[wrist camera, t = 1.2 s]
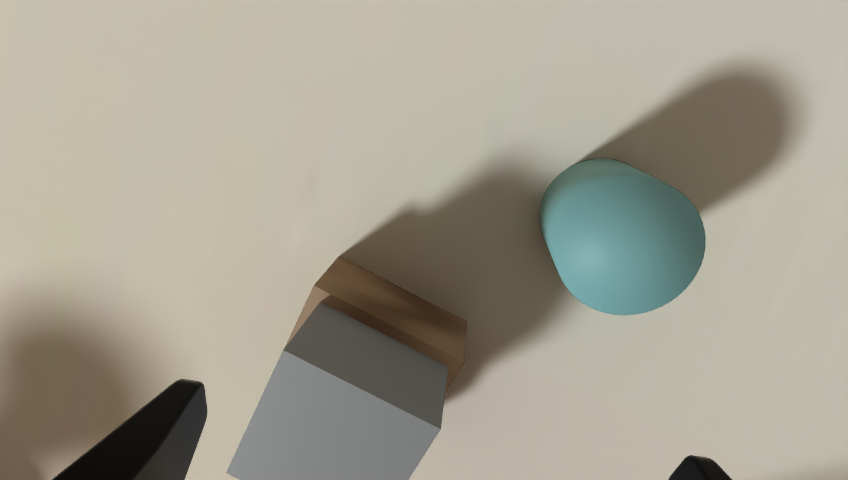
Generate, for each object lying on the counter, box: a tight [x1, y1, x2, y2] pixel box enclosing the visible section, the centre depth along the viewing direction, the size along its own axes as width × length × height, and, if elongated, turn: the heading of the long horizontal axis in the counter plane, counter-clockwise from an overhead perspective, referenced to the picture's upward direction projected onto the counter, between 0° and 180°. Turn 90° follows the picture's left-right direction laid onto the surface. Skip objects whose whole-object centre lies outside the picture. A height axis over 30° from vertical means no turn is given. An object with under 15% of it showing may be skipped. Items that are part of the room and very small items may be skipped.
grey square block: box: [226, 302, 448, 480], centre depth 20 cm, size 6×6×4 cm
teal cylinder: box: [539, 158, 705, 315], centre depth 19 cm, size 5×5×5 cm
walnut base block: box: [285, 257, 467, 392], centre depth 23 cm, size 7×7×4 cm
